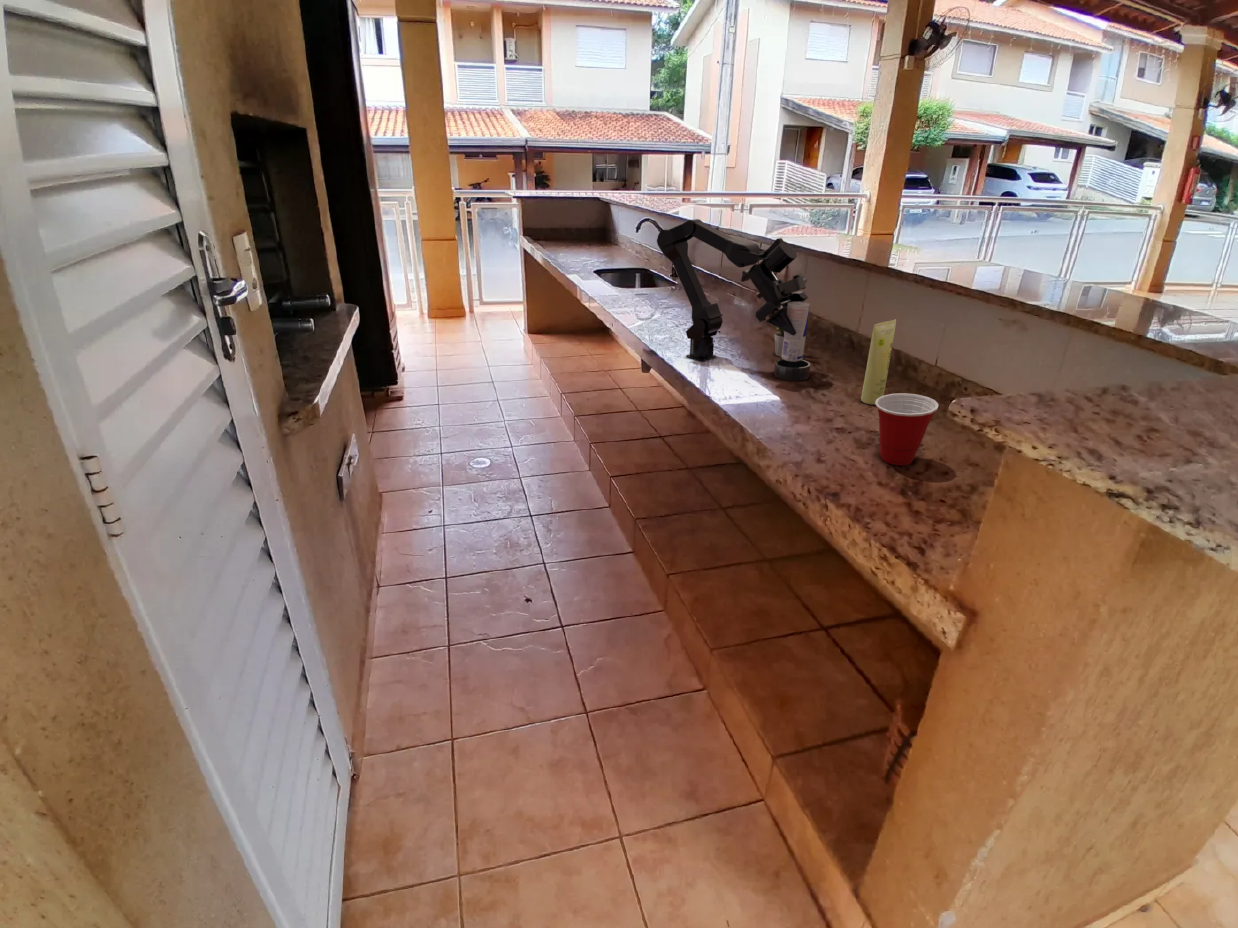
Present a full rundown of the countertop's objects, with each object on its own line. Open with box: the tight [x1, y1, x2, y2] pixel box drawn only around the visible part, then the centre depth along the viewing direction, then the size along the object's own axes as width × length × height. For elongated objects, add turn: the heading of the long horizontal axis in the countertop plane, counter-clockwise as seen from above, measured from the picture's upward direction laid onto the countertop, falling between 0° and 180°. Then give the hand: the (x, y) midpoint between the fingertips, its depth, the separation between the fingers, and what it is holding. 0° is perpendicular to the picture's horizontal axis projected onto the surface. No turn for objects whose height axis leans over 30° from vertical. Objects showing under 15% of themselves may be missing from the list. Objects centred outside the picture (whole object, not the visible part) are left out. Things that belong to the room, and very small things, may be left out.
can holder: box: [773, 358, 812, 382], centre depth 167 cm, size 9×9×4 cm
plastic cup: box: [875, 392, 940, 466], centre depth 117 cm, size 11×11×12 cm
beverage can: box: [780, 301, 811, 362], centre depth 162 cm, size 6×6×15 cm
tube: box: [860, 318, 897, 406], centre depth 144 cm, size 6×5×20 cm
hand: (799, 332), depth 161 cm, fingers closed on beverage can, 5 cm apart
